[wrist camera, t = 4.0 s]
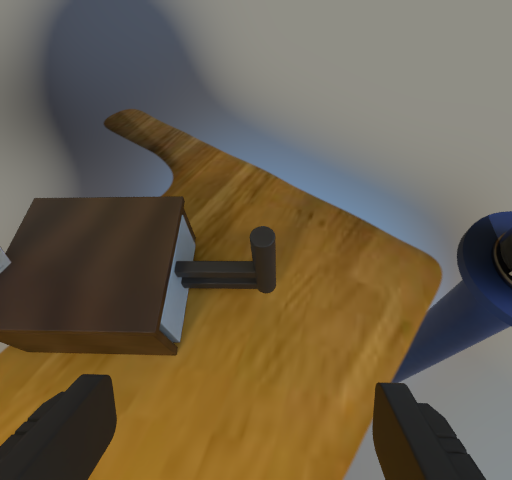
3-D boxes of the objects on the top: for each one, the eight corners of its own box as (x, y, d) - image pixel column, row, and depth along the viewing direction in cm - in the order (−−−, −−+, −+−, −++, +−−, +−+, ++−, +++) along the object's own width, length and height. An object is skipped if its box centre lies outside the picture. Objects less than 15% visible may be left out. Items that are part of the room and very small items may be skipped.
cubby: (199, 237, 38) (182, 196, 32) (180, 355, 31) (155, 332, 25) (73, 237, 39) (34, 197, 33) (27, 352, 32) (-35, 329, 26)
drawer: (276, 245, 37) (275, 182, 28) (275, 344, 31) (274, 304, 22) (82, 245, 38) (23, 186, 30) (46, 339, 32) (-41, 300, 24)
